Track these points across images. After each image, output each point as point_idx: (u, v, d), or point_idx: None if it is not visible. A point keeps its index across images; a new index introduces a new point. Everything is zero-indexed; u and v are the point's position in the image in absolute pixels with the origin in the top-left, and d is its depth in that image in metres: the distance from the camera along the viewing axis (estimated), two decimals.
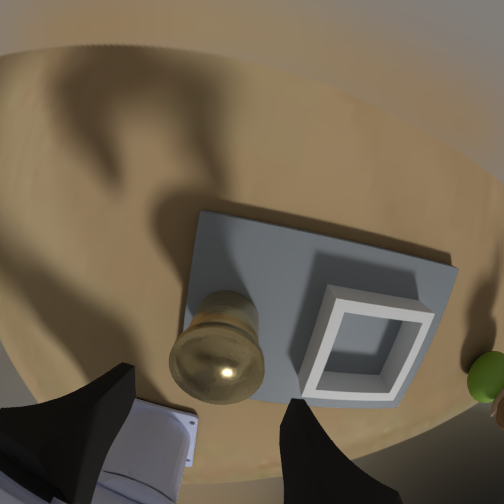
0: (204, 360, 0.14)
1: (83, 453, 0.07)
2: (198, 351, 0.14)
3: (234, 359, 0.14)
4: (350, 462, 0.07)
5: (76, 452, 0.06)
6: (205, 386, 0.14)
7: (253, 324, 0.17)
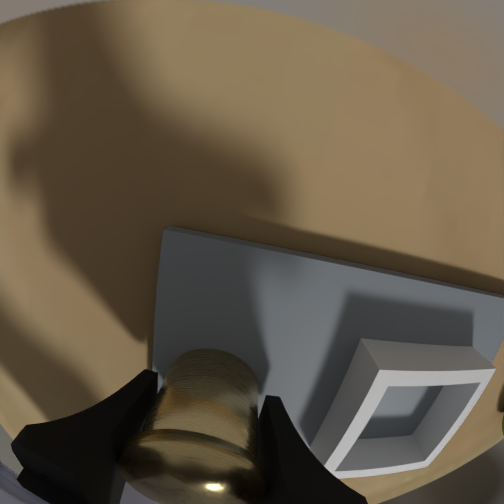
0: (170, 478, 0.07)
1: (112, 465, 0.07)
2: (159, 468, 0.07)
3: (217, 482, 0.07)
4: (318, 463, 0.07)
5: (107, 465, 0.06)
6: (177, 499, 0.07)
7: (249, 412, 0.10)
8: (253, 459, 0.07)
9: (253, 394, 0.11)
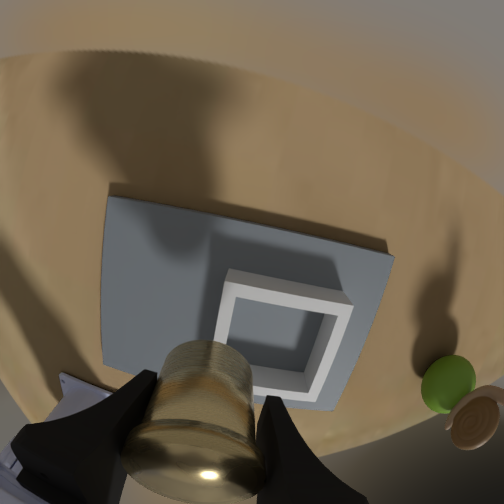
0: (173, 468, 0.07)
1: (112, 465, 0.07)
2: (162, 459, 0.07)
3: (219, 470, 0.07)
4: (319, 463, 0.07)
5: (106, 465, 0.06)
6: (179, 490, 0.08)
7: (246, 400, 0.10)
8: (253, 446, 0.08)
9: (248, 383, 0.11)
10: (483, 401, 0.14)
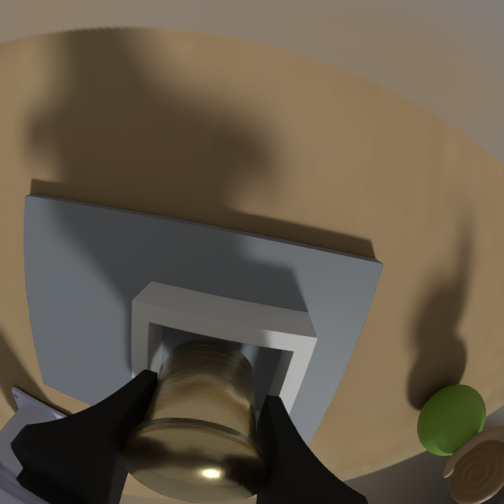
0: (174, 467, 0.07)
1: (112, 465, 0.07)
2: (163, 458, 0.07)
3: (220, 469, 0.07)
4: (319, 463, 0.07)
5: (106, 465, 0.06)
6: (180, 489, 0.08)
7: (247, 399, 0.10)
8: (254, 445, 0.08)
9: (249, 383, 0.11)
10: (493, 447, 0.09)
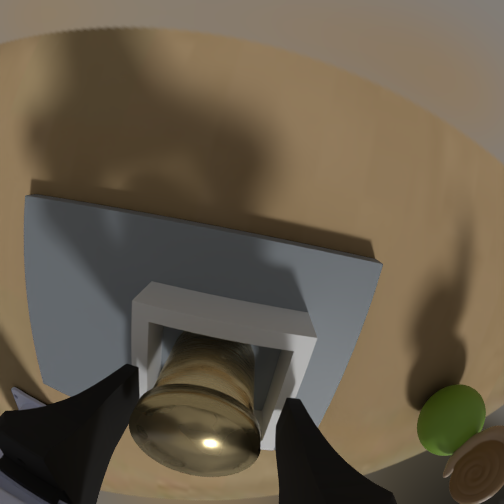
0: (176, 433, 0.09)
1: (88, 455, 0.07)
2: (166, 422, 0.09)
3: (217, 434, 0.09)
4: (344, 462, 0.07)
5: (81, 455, 0.06)
6: (180, 458, 0.09)
7: (246, 376, 0.12)
8: (249, 413, 0.09)
9: (250, 363, 0.13)
10: (493, 447, 0.09)
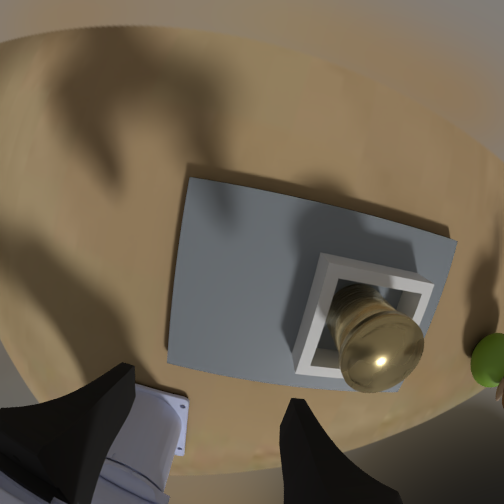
0: (378, 349, 0.14)
1: (83, 453, 0.06)
2: (376, 341, 0.13)
3: (403, 344, 0.13)
4: (350, 462, 0.07)
5: (76, 452, 0.06)
6: (370, 376, 0.14)
7: None
8: None
9: None
10: None
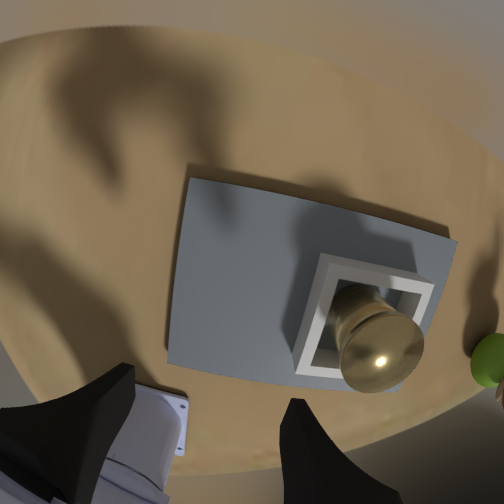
0: (378, 349, 0.14)
1: (83, 453, 0.07)
2: (376, 341, 0.13)
3: (403, 344, 0.13)
4: (350, 462, 0.07)
5: (76, 452, 0.06)
6: (370, 376, 0.14)
7: None
8: None
9: None
10: None
